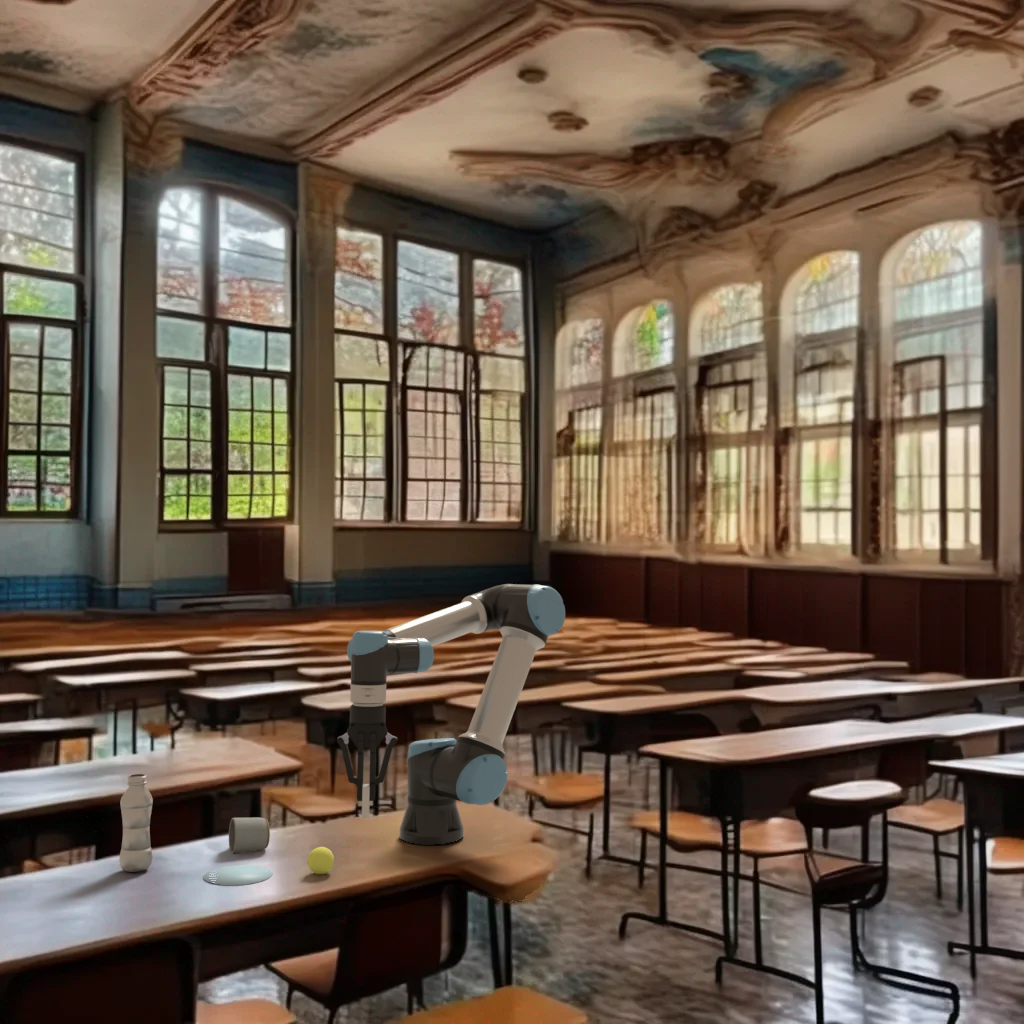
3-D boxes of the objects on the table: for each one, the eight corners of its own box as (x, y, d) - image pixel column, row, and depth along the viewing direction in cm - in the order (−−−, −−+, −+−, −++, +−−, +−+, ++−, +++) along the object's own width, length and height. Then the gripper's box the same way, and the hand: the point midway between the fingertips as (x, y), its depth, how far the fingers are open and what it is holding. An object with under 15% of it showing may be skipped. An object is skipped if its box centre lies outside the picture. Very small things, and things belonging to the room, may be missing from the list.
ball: (334, 869, 236) (335, 843, 236) (333, 877, 231) (333, 850, 231) (308, 870, 236) (308, 844, 236) (306, 877, 230) (306, 851, 230)
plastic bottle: (158, 870, 235) (159, 775, 235) (128, 877, 230) (130, 780, 230) (142, 864, 239) (144, 771, 240) (113, 871, 234) (115, 775, 235)
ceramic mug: (271, 852, 249) (271, 818, 250) (234, 856, 246) (234, 821, 246) (260, 842, 259) (260, 809, 259) (224, 846, 255) (225, 812, 256)
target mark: (276, 865, 239) (276, 864, 239) (268, 884, 225) (268, 883, 225) (209, 866, 238) (209, 865, 238) (197, 886, 224) (197, 885, 224)
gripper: (335, 706, 231) (333, 820, 230) (398, 706, 232) (396, 820, 231) (338, 701, 238) (335, 812, 237) (399, 701, 240) (396, 812, 239)
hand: (365, 816), depth 234 cm, fingers closed
